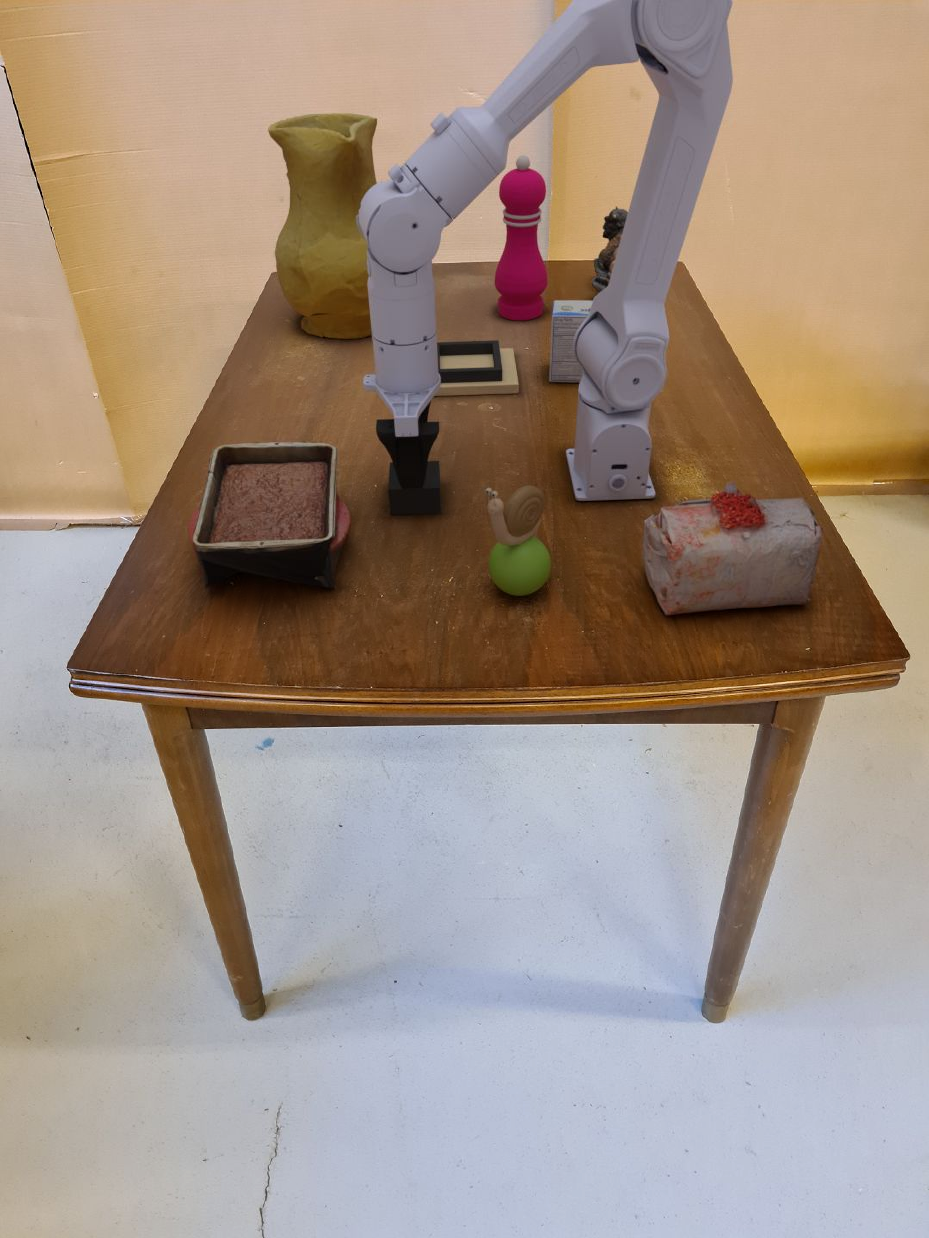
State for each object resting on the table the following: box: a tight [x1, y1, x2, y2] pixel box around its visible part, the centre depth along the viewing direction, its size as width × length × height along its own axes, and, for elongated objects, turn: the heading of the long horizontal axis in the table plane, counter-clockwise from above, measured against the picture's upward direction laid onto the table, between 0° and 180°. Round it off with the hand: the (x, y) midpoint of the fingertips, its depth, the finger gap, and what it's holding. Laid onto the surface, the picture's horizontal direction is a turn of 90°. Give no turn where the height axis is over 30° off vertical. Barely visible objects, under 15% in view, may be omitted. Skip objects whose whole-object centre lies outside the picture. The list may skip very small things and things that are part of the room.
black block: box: [387, 460, 442, 516], centre depth 91 cm, size 5×5×3 cm
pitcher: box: [267, 112, 378, 340], centre depth 118 cm, size 17×19×25 cm
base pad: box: [434, 339, 520, 397], centre depth 111 cm, size 10×12×3 cm
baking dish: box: [188, 441, 352, 590], centre depth 83 cm, size 14×18×10 cm
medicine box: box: [548, 299, 593, 383], centre depth 108 cm, size 8×4×9 cm, turn 84°
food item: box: [641, 480, 824, 616], centre depth 76 cm, size 14×8×10 cm, turn 95°
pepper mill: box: [494, 154, 549, 321], centre depth 120 cm, size 7×7×20 cm
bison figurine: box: [591, 205, 628, 294], centre depth 128 cm, size 12×7×10 cm, turn 177°
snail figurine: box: [485, 485, 552, 597], centre depth 76 cm, size 5×6×12 cm
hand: (412, 465), depth 89 cm, fingers open, 7 cm apart
